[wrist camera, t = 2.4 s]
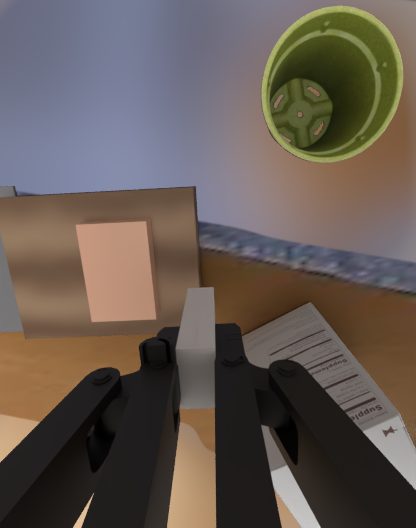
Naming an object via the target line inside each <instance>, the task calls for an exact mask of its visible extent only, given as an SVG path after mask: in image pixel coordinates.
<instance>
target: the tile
mask: <svg viewBox="0 0 416 528" xmlns="http://www.w3.org/2000/svg"><path fill="white" fill-rule="evenodd" d="M76 231H77V237H78V243H79V249H80V255H81V261H82V267H83V273H84V279H85V285H86V290H87V296H88V302H89V308H90V314H91V320H92V322H105V321H129V320H154V319H157V317H158V314H159V312H160V305H159V295H158V285H157V276H156V266H155V256H154V246H153V236H152V227H151V218H147V219H127V220H108V221H88V222H83V223H79V224H76Z"/></svg>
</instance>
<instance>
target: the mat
mask: <svg viewBox="0 0 416 528" xmlns="http://www.w3.org/2000/svg"><path fill="white" fill-rule="evenodd" d="M13 196H17V194H16V190H15V186H5V187H0V198H1V197H13ZM21 331H23V327H22V322H21V318H20V314H19V310H18V305H17V301H16V297H15V292H14V288H13V284H12V280H11V275H10V271H9V267H8V263H7V258H6V254H5V250H4V245H3V241H2V237H1V233H0V332H21Z"/></svg>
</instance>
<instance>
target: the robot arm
mask: <svg viewBox="0 0 416 528" xmlns="http://www.w3.org/2000/svg"><path fill="white" fill-rule="evenodd" d="M139 351H140V359H141V367H140V370H139V371H137V372H134V373H131V374H127V375H123V376H120V372H119V371H118V370H117V369H115V368H112V367H108V368H100V369H97V370H95V371H93V372H91V373H90V374H88V375H87V376H86V377H85V378H84V379H83V380H82V381H81V382H80V383H79V384H78V385H77V386H76V387H75V388H74V389H73V390H72V391H71V392H70V393H69V394H68V395H67V396H66V397H65V398H64V399H63V400H62V401H61V402H60V403H59V404H58V405H57V406H56V407H55V408H54V409H53V410H52V411H51V412H50V413H49V414H48V415H47V416H46V417H45V418H44V419H43V420H42V421H41V422H40V423H39V424H38V425H37V426H36V427H35V428H34V429H33V430H32V431H31V432H30V433H29V434H28V435H27V436H26V437H25V438H24V439H23V440H22V441H21V442H20V444H19V445H17V446H16V447H15V448H14V449H13V450H12V451H11V452H10V453H9V454H8V455H7V457H5V458H4V459H3V460H2V461H1V462H0V528H73V526H74V525H75V523H76V521H77V520H78V518H79V516H80V515H81V513H82V512H83V510H84V508H85V507H86V505H87V503H88V501H89V500H90V498H91V497H92V495H93V493H94V495H93V497H92V500H91V503H90V506H89V509H88V511H87V514H86V517H85V519H84V522H83V525H82V527H81V528H167V521H168V513H169V505H170V497H171V489H172V480H173V472H174V465H175V457H176V449H177V441H178V433H179V425H180V412H179V406H180V403H181V409H203V408H215V454H216V528H282V527H281V522H280V517H279V512H278V507H277V502H276V497H275V492H274V486H273V481H272V476H271V471H270V466H269V461H268V456H267V451H266V446H265V441H264V436H263V431H262V426H261V425H263V426H268V428H269V432H270V434H271V436H272V438H273V440H274V441H275V443H276V445H277V447H278V449H279V451H280V453H281V454H282V456H283V458H284V460H285V462H286V464H287V466H288V468H289V469H290V471H291V473H292V475H293V477H294V479H295V481H296V482H297V484H298V486H299V488H300V490H301V492H302V494H303V496H304V497H305V499H306V501H307V503H308V505H309V507H310V509H311V510H312V512H313V514H314V516H315V518H316V520H317V522H318V523H319V525H320V527H321V528H416V490H415V489H414V488H413V486H412V485H411V484H410V483H409V482H408V481H407V480H406V479H405V478H404V477H403V475H402V474H401V473H400V472H399V471H398V470H397V469H396V468H395V467H394V466H393V464H392V463H391V462H390V461H389V460H388V459H387V458H386V457H385V456H384V455H383V453H382V452H381V451H380V450H379V449H378V448H377V447H376V446H375V445H374V444H373V442H372V441H371V440H370V439H369V438H368V437H367V436H366V435H365V434H364V433H363V431H362V430H361V429H360V428H359V427H358V426H357V425H356V424H355V423H354V422H353V420H352V419H351V418H350V417H349V416H348V415H347V414H346V413H345V412H344V411H343V409H342V408H341V407H340V406H339V405H338V404H337V403H336V402H335V401H334V400H333V398H332V397H331V396H330V395H329V394H328V393H327V392H326V391H325V390H324V389H323V387H322V386H321V385H320V384H319V383H318V382H317V381H316V380H315V379H314V378H313V376H312V375H311V374H310V373H309V372H308V371H307V370H306V369H305V368H304V367H303V366H302V365H301V364H300V363H298V362H295V361H293V360H288V359H282V360H276V361H274V362H272V363H271V364H270V365H269V368H262V367H258V366H255V365H253V364H251V363H250V362H249V360H248V358H247V357H246V355H245V350H244V345H243V340H242V335H241V329H240V327H239V326H238V325H236V324H235V323H228V324H216V321H215V302H214V287H205V288H188V291H187V296H186V301H185V306H184V311H183V315H182V320H181V325H180V326H177V327H164V328H162V329H161V330H160V331H159V332H158V334H157V337H152V338H149V339H146V340H145V341H143V342H142V343H141V344H140V345H139Z"/></svg>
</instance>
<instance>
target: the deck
mask: <svg viewBox="0 0 416 528" xmlns="http://www.w3.org/2000/svg"><path fill="white" fill-rule="evenodd" d="M147 218H151V227H152V236H153V246H154V256H155V266H156V276H157V285H158V295H159V305H160V312H159V314H158V317H157V319H154V320H129V321H105V322H92V320H91V314H90V308H89V302H88V296H87V290H86V285H85V279H84V273H83V267H82V261H81V255H80V249H79V243H78V237H77V231H76V224H79V223H83V222H88V221H108V220H127V219H147ZM0 233H1V237H2V241H3V245H4V250H5V254H6V258H7V263H8V267H9V271H10V275H11V280H12V284H13V288H14V292H15V297H16V301H17V305H18V310H19V314H20V318H21V322H22V327H23V331H24V335H25V339H34V338H60V337H85V336H110V335H136V334H158V332H159V331H160V330H161V329H162V328H164V327H177V326H180V325H181V320H182V315H183V311H184V306H185V301H186V296H187V291H188V288H202V282H201V266H200V249H199V233H198V217H197V201H196V187H176V188H159V189H158V188H157V189H140V190H123V191H122V190H121V191H104V192H103V191H102V192H84V193H66V194H47V195H28V196H13V197H1V198H0Z"/></svg>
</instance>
